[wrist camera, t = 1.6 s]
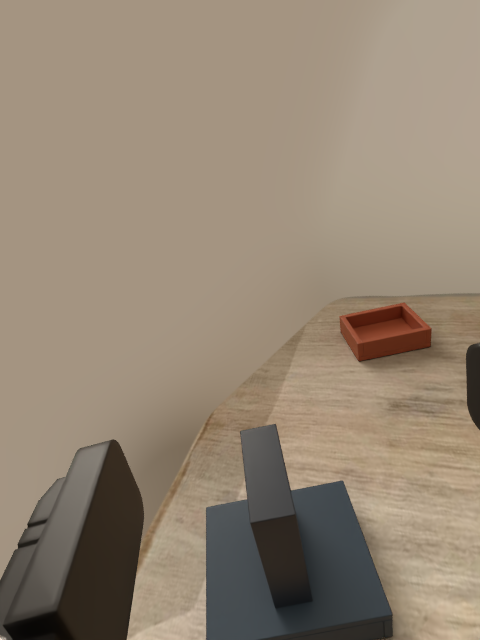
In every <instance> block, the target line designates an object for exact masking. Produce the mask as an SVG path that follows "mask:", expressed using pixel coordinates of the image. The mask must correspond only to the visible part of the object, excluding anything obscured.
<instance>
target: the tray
mask: <svg viewBox="0 0 480 640" xmlns="http://www.w3.org/2000/svg"><path fill="white" fill-rule="evenodd" d="M340 328H341V333H342V335H343V336H344V338H345V340H346V341H347V343H348V345H349V346H350V348H351V350H352V351H353V353H354V354H355V356H356V358H357V359H358V361H362V360H367V359H372V358H377V357H382V356H387V355H392V354H397V353H401V352H406V351H411V350H416V349H421V348H426V347H430V346H431V328H430V327H429V326H428V325H427V324H426V323H425V322H424V321H423V320H422V319H421V318H420V317H419V316H418V315H417V314H416V313H415V312H414V311H413V310H412V309H411V308H409V307H408V306H407V305H406V304H405V303H400V304H396V305H391V306H386V307H381V308H376V309H372V310H367V311H362V312H357V313H352V314H348V315H343V316H340Z"/></svg>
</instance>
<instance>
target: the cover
mask: <svg viewBox="0 0 480 640" xmlns="http://www.w3.org/2000/svg"><path fill="white" fill-rule="evenodd" d="M240 434H241V444H242V453H243V463H244V472H245V481H246V491H247V500H242V501H237V502H231V503H226V504H221V505H216V506H211V507H207V508H206V640H375V639H380V638H384V637H385V638H386V637H391V636H393V619H392V611H391V609H390V606H389V603H388V601H387V598H386V595H385V593H384V590H383V587H382V585H381V582H380V579H379V576H378V574H377V571H376V568H375V566H374V563H373V560H372V558H371V555H370V552H369V549H368V547H367V544H366V541H365V539H364V536H363V533H362V531H361V528H360V525H359V522H358V520H357V517H356V514H355V512H354V509H353V506H352V504H351V501H350V498H349V495H348V493H347V490H346V487H345V485H344V482H343V481H338V482H333V483H328V484H323V485H318V486H313V487H307V488H302V489H297V490H292V491H291V490H290V485H289V481H288V476H287V472H286V467H285V463H284V458H283V454H282V449H281V445H280V440H279V436H278V431H277V427H276V424H273V425H268V426H263V427H258V428H253V429H248V430H243V431H240Z"/></svg>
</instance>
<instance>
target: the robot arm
mask: <svg viewBox="0 0 480 640" xmlns="http://www.w3.org/2000/svg"><path fill="white" fill-rule="evenodd" d="M466 372H467V406H468V410H469V413H470V416H471V418H472V420H473V422H474V423H475V425H476V426H477V427H478V429H479V430H480V343H477V344H473V345H471V346H469V348H468V350H467V353H466ZM143 522H144V511H143V502H142V497H141V494H140V491H139V488H138V486H137V484H136V482H135V479H134V477H133V475H132V472H131V470H130V468H129V465H128V463H127V460H126V458H125V456H124V453H123V451H122V449H121V447H120V445H119V443H118V442H117V441H116V440H110V441H106V442H102V443H99V444H95V445H91V446H87V447H84V448H80V449H79V450H78V451H77V452H76V454H75V456H74V459H73V461H72V463H71V466H70V468H69V471H68V473H67V475H66V477H63V478H60V479H57V480H56V481H55V483H54V484H53V485H52V486H51V487H50V488H49V489H48V491H47V492H46V493H45V494H44V495H43V496H42V497H41V499H40V500H39V501H38V503H37V505H36V507H35V509H34V511H33V513H32V516H31V518H30V520H29V522H28V524H27V525H28V528H27V529H25V530H24V532H23V534H22V536H21V538H20V540H19V543H18V549H16V550H15V551H14V553H13V555H12V557H11V559H10V561H9V563H8V565H7V567H6V570H5V572H4V574H3V576H2V578H1V580H0V640H127V633H128V626H129V619H130V612H131V605H132V599H133V592H134V585H135V578H136V571H137V564H138V557H139V550H140V543H141V536H142V529H143Z"/></svg>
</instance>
